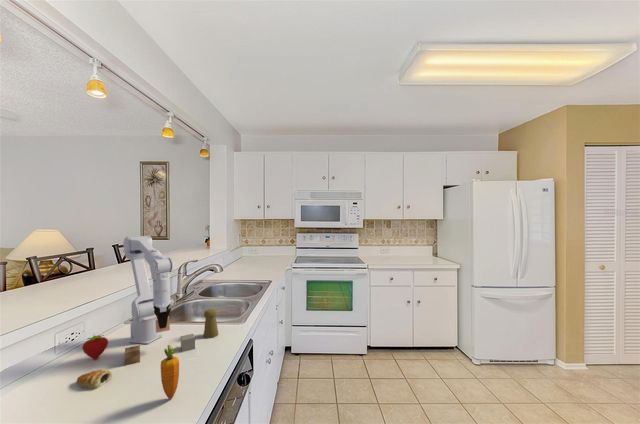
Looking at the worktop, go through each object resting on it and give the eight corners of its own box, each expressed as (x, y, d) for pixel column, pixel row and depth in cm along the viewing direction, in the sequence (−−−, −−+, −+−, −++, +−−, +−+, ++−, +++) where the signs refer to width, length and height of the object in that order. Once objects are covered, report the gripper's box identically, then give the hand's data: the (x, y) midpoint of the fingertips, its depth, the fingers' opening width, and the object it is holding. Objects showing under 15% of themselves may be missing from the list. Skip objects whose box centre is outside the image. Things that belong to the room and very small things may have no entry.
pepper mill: (220, 332, 129) (220, 307, 129) (214, 338, 123) (214, 311, 123) (207, 332, 130) (207, 307, 130) (200, 338, 124) (200, 311, 124)
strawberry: (108, 359, 107) (108, 331, 107) (81, 366, 102) (81, 337, 102) (108, 353, 112) (108, 326, 112) (83, 359, 107) (82, 331, 107)
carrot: (165, 394, 85) (164, 342, 85) (183, 392, 86) (182, 341, 86) (157, 405, 80) (156, 350, 80) (176, 404, 81) (175, 348, 81)
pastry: (69, 388, 90) (69, 375, 90) (90, 376, 96) (89, 364, 96) (96, 390, 88) (96, 377, 88) (115, 378, 95) (115, 366, 95)
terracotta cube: (156, 332, 110) (155, 320, 110) (155, 328, 114) (155, 317, 114) (169, 330, 112) (169, 318, 112) (168, 326, 116) (168, 314, 116)
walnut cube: (124, 366, 102) (124, 353, 102) (125, 360, 106) (125, 348, 106) (139, 362, 104) (139, 349, 104) (140, 357, 108) (139, 345, 108)
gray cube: (182, 352, 111) (182, 340, 111) (180, 347, 115) (180, 336, 115) (195, 349, 114) (194, 337, 114) (193, 344, 118) (193, 333, 118)
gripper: (175, 292, 109) (175, 329, 109) (171, 284, 121) (172, 318, 121) (153, 295, 105) (154, 333, 105) (152, 287, 118) (152, 321, 118)
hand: (162, 325), depth 113 cm, fingers closed on terracotta cube, 4 cm apart
